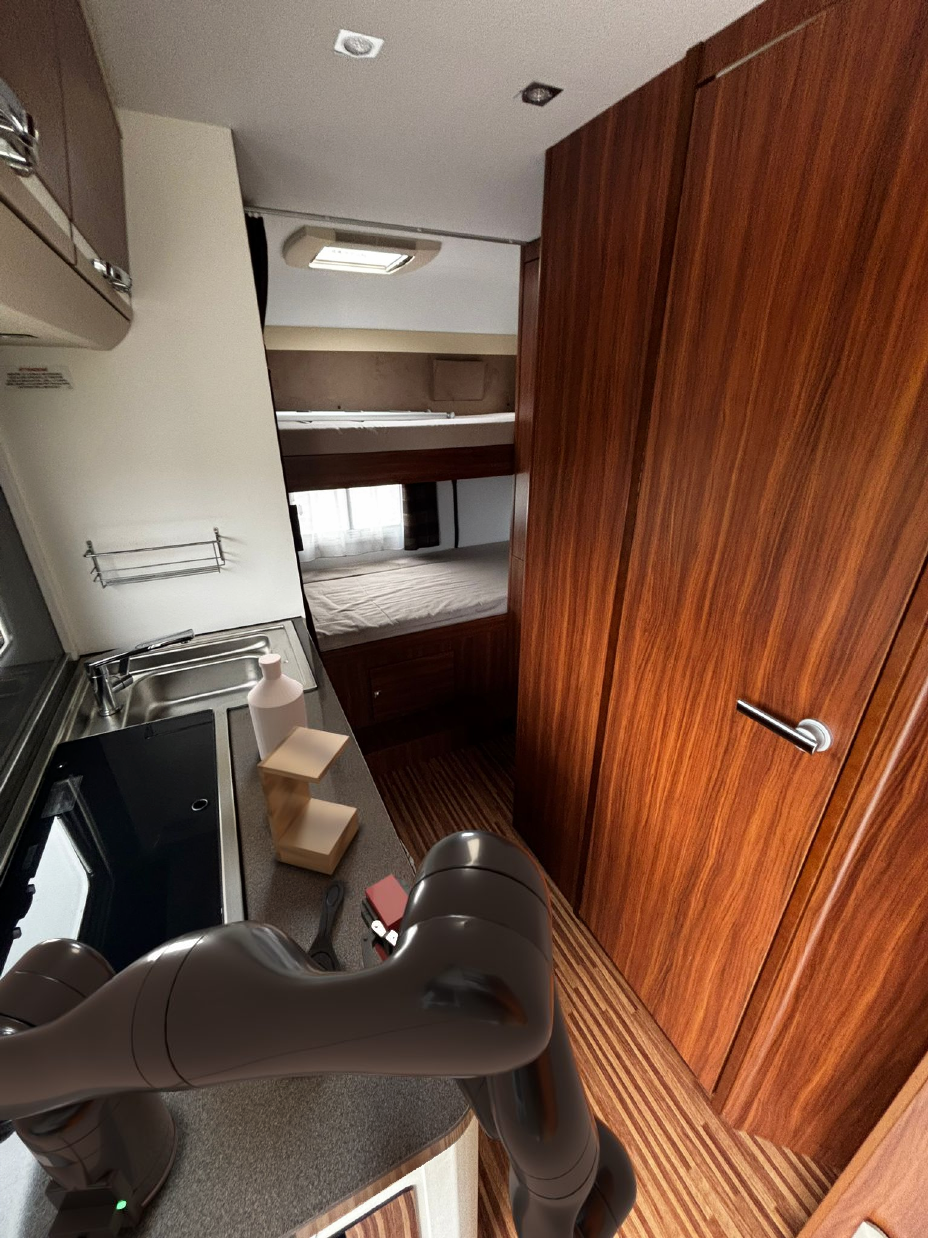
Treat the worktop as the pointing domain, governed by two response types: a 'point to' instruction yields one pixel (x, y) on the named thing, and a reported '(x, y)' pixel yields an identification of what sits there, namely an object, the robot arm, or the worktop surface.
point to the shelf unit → (305, 800)
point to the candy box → (388, 904)
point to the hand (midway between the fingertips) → (380, 893)
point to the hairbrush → (327, 928)
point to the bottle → (275, 705)
